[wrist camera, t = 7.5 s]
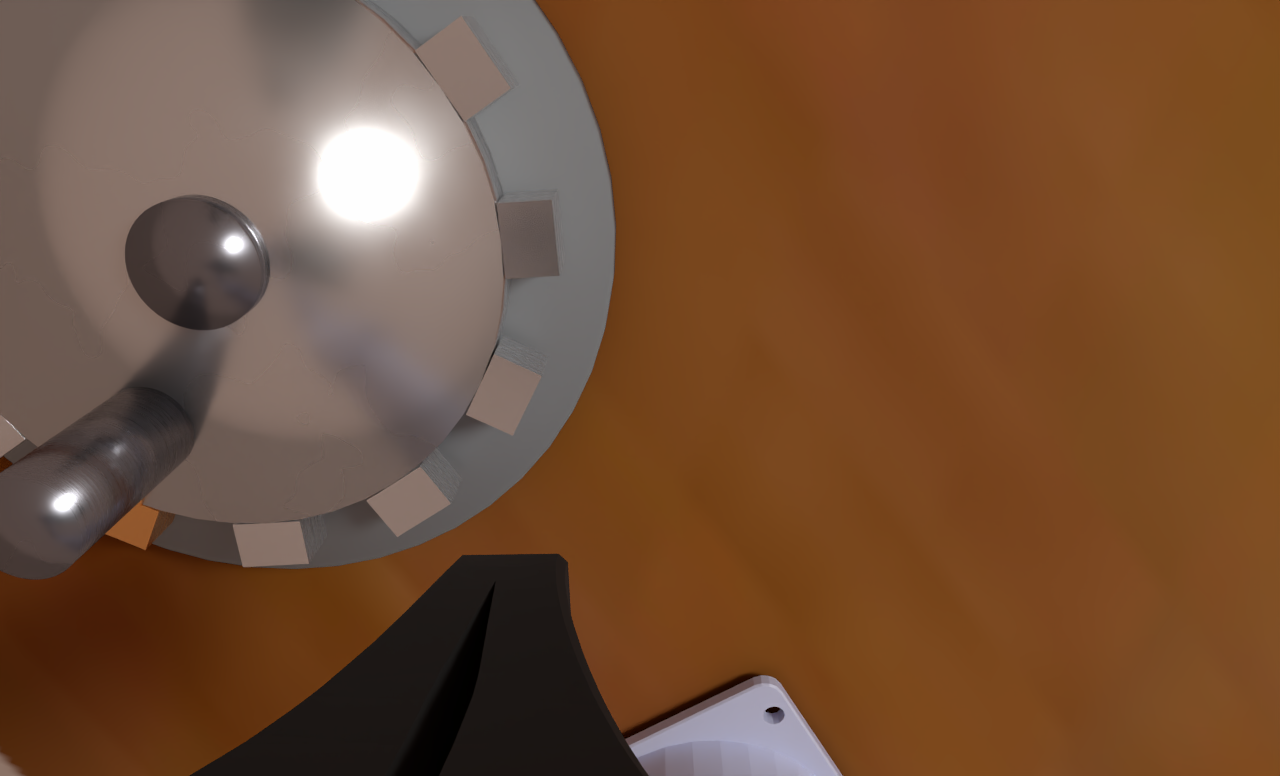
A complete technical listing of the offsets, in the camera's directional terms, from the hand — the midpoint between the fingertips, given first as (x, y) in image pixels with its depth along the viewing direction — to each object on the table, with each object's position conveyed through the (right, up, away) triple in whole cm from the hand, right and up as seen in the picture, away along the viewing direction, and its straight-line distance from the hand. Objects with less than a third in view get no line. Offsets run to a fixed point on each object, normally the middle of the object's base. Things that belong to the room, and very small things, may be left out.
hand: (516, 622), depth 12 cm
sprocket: (-6, +6, +7) cm, 11 cm away
